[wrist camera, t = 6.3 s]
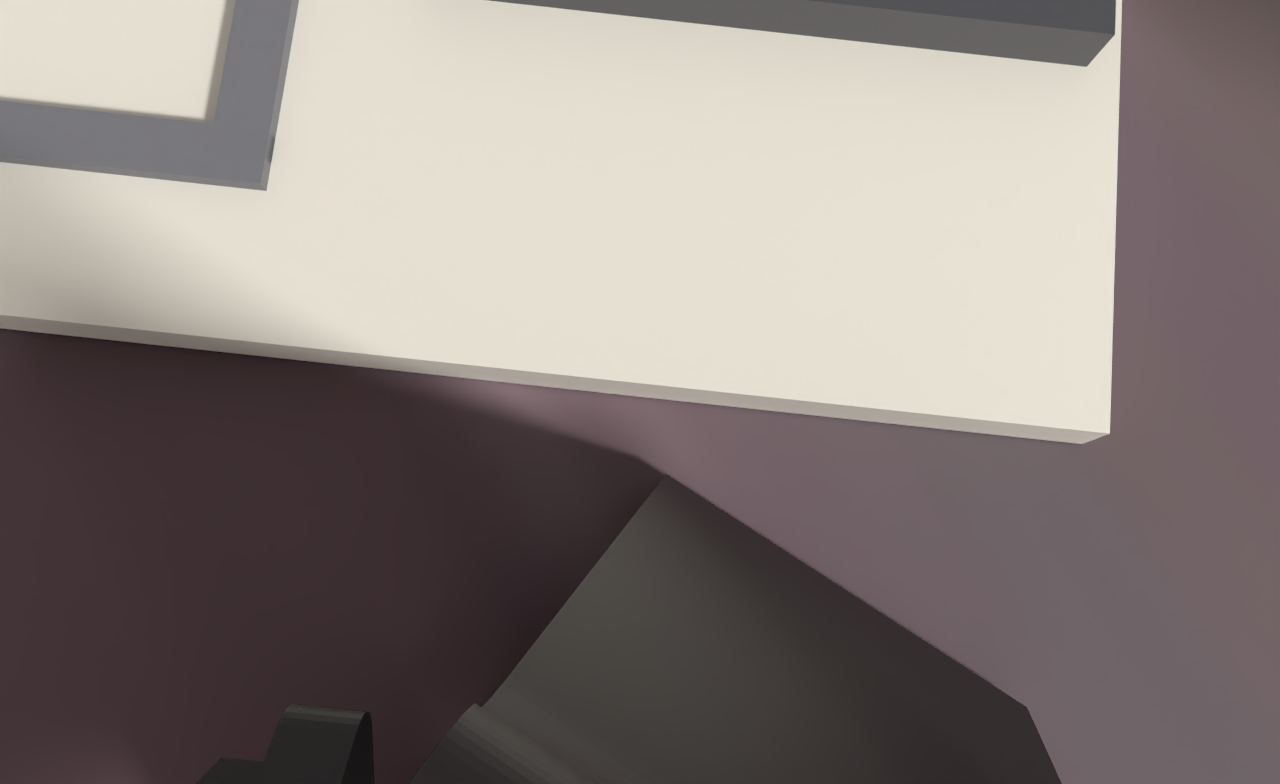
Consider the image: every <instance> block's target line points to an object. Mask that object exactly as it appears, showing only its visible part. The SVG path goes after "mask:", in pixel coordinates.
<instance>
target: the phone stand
mask: <svg viewBox="0 0 1280 784" xmlns="http://www.w3.org/2000/svg"><path fill="white" fill-rule="evenodd" d="M409 784H1061V781H1060V779H1059V777H1058V775H1057V773H1056V770H1055V768H1054V766H1053V764H1052V762H1051V759H1050V757H1049V755H1048V753H1047V751H1046V748H1045V746H1044V744H1043V742H1042V739H1041V737H1040V735H1039V733H1038V731H1037V728H1036V726H1035V724H1034V722H1033V720H1032V717H1031V715H1030V713H1029V711H1028V709H1027V707H1026V706H1024V705H1023V704H1021V703H1019V702H1018V701H1016V700H1015V699H1013V698H1012V697H1010V696H1009V695H1007V694H1006V693H1004V692H1002V691H1001V690H999V689H998V688H996V687H995V686H993V685H992V684H990V683H989V682H987V681H985V680H984V679H982V678H981V677H979V676H978V675H976V674H975V673H973V672H972V671H970V670H968V669H967V668H965V667H964V666H962V665H961V664H959V663H958V662H956V661H954V660H953V659H951V658H950V657H948V656H947V655H945V654H944V653H942V652H941V651H939V650H937V649H936V648H934V647H933V646H931V645H930V644H928V643H927V642H925V641H924V640H922V639H920V638H919V637H917V636H916V635H914V634H913V633H911V632H910V631H908V630H907V629H905V628H903V627H902V626H900V625H899V624H897V623H896V622H894V621H893V620H891V619H890V618H888V617H886V616H885V615H883V614H882V613H880V612H879V611H877V610H876V609H874V608H872V607H871V606H869V605H868V604H866V603H865V602H863V601H862V600H860V599H859V598H857V597H855V596H854V595H852V594H851V593H849V592H848V591H846V590H845V589H843V588H842V587H840V586H838V585H837V584H835V583H834V582H832V581H831V580H829V579H828V578H826V577H825V576H823V575H821V574H820V573H818V572H817V571H815V570H814V569H812V568H811V567H809V566H807V565H806V564H804V563H803V562H801V561H800V560H798V559H797V558H795V557H794V556H792V555H790V554H789V553H787V552H786V551H784V550H783V549H781V548H780V547H778V546H777V545H775V544H773V543H772V542H770V541H769V540H767V539H766V538H764V537H763V536H761V535H760V534H758V533H756V532H755V531H753V530H752V529H750V528H749V527H747V526H746V525H744V524H743V523H741V522H739V521H738V520H736V519H735V518H733V517H732V516H730V515H729V514H727V513H725V512H724V511H722V510H721V509H719V508H718V507H716V506H715V505H713V504H712V503H710V502H708V501H707V500H705V499H704V498H702V497H701V496H699V495H698V494H696V493H695V492H693V491H691V490H690V489H688V488H687V487H685V486H684V485H682V484H681V483H679V482H678V481H676V480H674V479H673V478H671V477H670V476H668V475H667V474H666V475H665V476H664V477H663V479H662V480H661V481H660V482H659V484H658V485H657V486H656V488H655V489H654V490H653V491H652V493H651V494H650V495H649V497H648V498H647V499H646V500H645V502H644V503H643V504H642V506H641V507H640V508H639V509H638V511H637V512H636V513H635V515H634V516H633V517H632V518H631V520H630V521H629V522H628V523H627V525H626V526H625V527H624V529H623V530H622V531H621V532H620V534H619V535H618V536H617V538H616V539H615V540H614V541H613V543H612V544H611V545H610V547H609V548H608V549H607V550H606V552H605V553H604V554H603V556H602V557H601V558H600V559H599V561H598V562H597V563H596V565H595V566H594V567H593V568H592V570H591V571H590V572H589V573H588V575H587V576H586V577H585V579H584V580H583V581H582V582H581V584H580V585H579V586H578V588H577V589H576V590H575V591H574V593H573V594H572V595H571V597H570V598H569V599H568V600H567V602H566V603H565V604H564V606H563V607H562V608H561V609H560V611H559V612H558V613H557V614H556V616H555V617H554V618H553V620H552V621H551V622H550V623H549V625H548V626H547V627H546V629H545V630H544V631H543V632H542V634H541V635H540V636H539V638H538V639H537V640H536V641H535V643H534V644H533V645H532V647H531V648H530V649H529V650H528V652H527V653H526V654H525V656H524V657H523V658H522V659H521V661H520V662H519V663H518V664H517V666H516V667H515V668H514V670H513V671H512V672H511V673H510V675H509V676H508V677H507V679H506V680H505V681H504V682H503V684H502V685H501V686H500V687H499V688H498V690H497V691H496V692H495V693H494V694H493V696H492V697H491V698H490V699H489V700H488V701H487V702H486V703H485V704H484V705H483V706H482V707H480V706H479V705H477V704H476V703H474V704H473V705H472V706H470V707H469V708H468V709H467V710H466V711H465V713H464V714H463V715H462V716H461V717H460V718H459V719H458V721H457V722H456V723H455V724H454V725H453V727H452V728H451V729H450V730H449V732H448V733H447V734H446V735H445V737H444V738H443V739H442V740H441V742H440V743H439V744H438V746H437V747H436V748H435V750H434V751H433V752H432V753H431V755H430V756H429V757H428V759H427V760H426V761H425V763H424V764H423V765H422V767H421V768H420V769H419V771H418V772H417V773H416V775H415V776H414V777H413V779H412V780H411V781H410V783H409Z"/></svg>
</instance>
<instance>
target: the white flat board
mask: <svg viewBox="0 0 1280 784" xmlns="http://www.w3.org/2000/svg"><path fill="white" fill-rule="evenodd" d="M235 1H236V0H0V101H9V102H18V103H27V104H37V105H46V106H55V107H64V108H73V109H82V110H92V111H101V112H110V113H119V114H128V115H137V116H146V117H156V118H165V119H174V120H183V121H192V122H201V123H210V124H213V122H214V117H215V111H216V106H217V100H218V95H219V89H220V84H221V78H222V73H223V67H224V62H225V56H226V51H227V45H228V40H229V34H230V29H231V23H232V18H233V12H234V7H235ZM1121 15H1122V0H1116V18H1115V35H1114V36H1113V37H1112V39H1111V40H1110V41H1109V42H1108V43H1107V44H1106V45H1105V47H1104V48H1103V49H1102V50H1101V51H1100V52H1099V53H1098V55H1097V56H1096V57H1095V58H1094V59H1093V60H1092V61H1091V63H1090V64H1089V65H1088V66H1087V67H1084V66H1075V65H1066V64H1057V63H1048V62H1039V61H1030V60H1021V59H1012V58H1003V57H994V56H985V55H976V54H967V53H958V52H948V51H939V50H930V49H921V48H912V47H903V46H894V45H885V44H876V43H867V42H858V41H849V40H840V39H831V38H822V37H813V36H804V35H795V34H786V33H777V32H768V31H759V30H750V29H741V28H732V27H723V26H714V25H705V24H696V23H687V22H678V21H669V20H660V19H651V18H642V17H633V16H624V15H615V14H606V13H597V12H588V11H578V10H569V9H560V8H551V7H542V6H533V5H524V4H515V3H506V2H497V1H488V0H299V4H298V9H297V15H296V21H295V27H294V33H293V39H292V45H291V50H290V56H289V62H288V68H287V74H286V80H285V85H284V91H283V97H282V103H281V109H280V115H279V120H278V126H277V132H276V138H275V144H274V150H273V156H272V161H271V167H270V173H269V179H268V185H267V191H262V190H253V189H244V188H235V187H225V186H216V185H207V184H198V183H189V182H179V181H170V180H161V179H152V178H143V177H133V176H124V175H115V174H106V173H96V172H87V171H78V170H69V169H60V168H50V167H41V166H32V165H23V164H14V163H4V162H0V328H2V329H12V330H21V331H30V332H40V333H49V334H58V335H68V336H77V337H86V338H96V339H105V340H114V341H124V342H133V343H142V344H152V345H161V346H170V347H180V348H189V349H199V350H208V351H217V352H227V353H236V354H245V355H255V356H264V357H273V358H283V359H292V360H301V361H311V362H320V363H329V364H339V365H348V366H357V367H367V368H376V369H386V370H395V371H404V372H414V373H423V374H432V375H442V376H451V377H460V378H470V379H479V380H488V381H498V382H507V383H516V384H526V385H535V386H544V387H554V388H563V389H572V390H582V391H591V392H601V393H610V394H619V395H629V396H638V397H647V398H657V399H666V400H675V401H685V402H694V403H703V404H713V405H722V406H731V407H741V408H750V409H759V410H769V411H778V412H788V413H797V414H806V415H816V416H825V417H834V418H844V419H853V420H862V421H872V422H881V423H890V424H900V425H909V426H918V427H928V428H937V429H946V430H956V431H965V432H974V433H984V434H993V435H1003V436H1012V437H1021V438H1031V439H1040V440H1049V441H1059V442H1068V443H1077V444H1083V443H1086V442H1088V441H1091V440H1094V439H1096V438H1099V437H1102V436H1105V435H1107V434H1110V409H1111V373H1112V337H1113V301H1114V266H1115V230H1116V194H1117V158H1118V123H1119V87H1120V51H1121Z"/></svg>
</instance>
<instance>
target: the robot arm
mask: <svg viewBox="0 0 1280 784" xmlns="http://www.w3.org/2000/svg"><path fill="white" fill-rule="evenodd" d="M197 784H374V763H373V741H372V722H371V716H370V713H369V712H365V711H355V710H346V709H336V708H326V707H316V706H306V705H297V704H291V705H289V706H288V707H287V708H286V710H285V711H284V713H283V715H282V717H281V719H280V721H279V724H278V726H277V729H276V732H275V734H274V737H273V740H272V742H271V745H270V747H269V750H268V753H267V755H266V758H265V761H264V762H257V761H247V760H237V759H227V758H221V759H220V760H219V761H218V762H217V763H216V764H215V765H214V766H213V767H212V768H211V769H210V770H209V771H208V772H207V773H206V775H205V776H204V777H203V778H202V779H201V780H200V781H199V782H198V783H197Z"/></svg>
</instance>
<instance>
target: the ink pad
mask: <svg viewBox="0 0 1280 784" xmlns="http://www.w3.org/2000/svg"><path fill="white" fill-rule="evenodd" d="M488 1H497V2H506V3H515V4H524V5H533V6H542V7H551V8H560V9H569V10H578V11H588V12H597V13H606V14H615V15H624V16H633V17H642V18H651V19H660V20H669V21H678V22H687V23H696V24H705V25H714V26H723V27H732V28H741V29H750V30H759V31H768V32H777V33H786V34H795V35H804V36H813V37H822V38H831V39H840V40H849V41H858V42H867V43H876V44H885V45H894V46H903V47H912V48H921V49H930V50H939V51H948V52H958V53H967V54H976V55H985V56H994V57H1003V58H1012V59H1021V60H1030V61H1039V62H1048V63H1057V64H1066V65H1075V66H1084V67H1087V66H1088V65H1089V64H1090V63H1091V61H1092V60H1093V59H1094V58H1095V57H1096V56H1097V55H1098V53H1099V52H1100V51H1101V50H1102V49H1103V48H1104V47H1105V45H1106V44H1107V43H1108V42H1109V41H1110V40H1111V39H1112V37H1113V36H1114V35H1115V18H1116V0H488Z"/></svg>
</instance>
